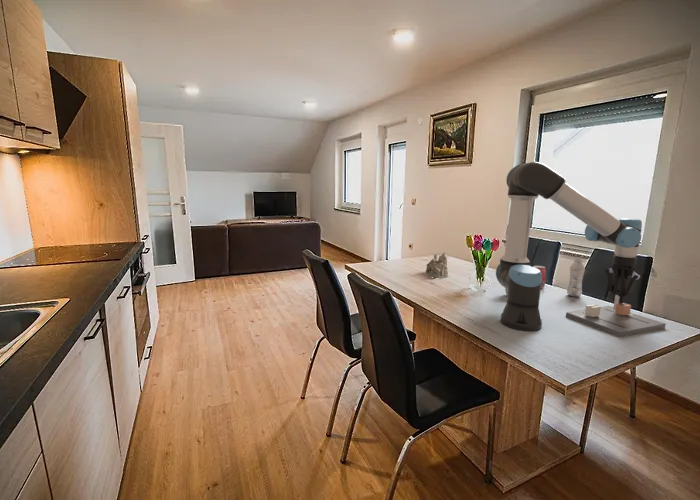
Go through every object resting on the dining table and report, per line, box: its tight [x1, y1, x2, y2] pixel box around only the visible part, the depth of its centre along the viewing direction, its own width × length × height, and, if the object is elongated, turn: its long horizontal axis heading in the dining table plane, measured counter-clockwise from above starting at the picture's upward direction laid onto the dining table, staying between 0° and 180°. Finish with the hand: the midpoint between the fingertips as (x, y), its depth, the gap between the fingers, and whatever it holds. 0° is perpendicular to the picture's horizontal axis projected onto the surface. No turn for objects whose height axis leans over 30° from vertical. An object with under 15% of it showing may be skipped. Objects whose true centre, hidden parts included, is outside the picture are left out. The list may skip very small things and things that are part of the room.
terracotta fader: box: [615, 302, 632, 315], centre depth 145 cm, size 4×3×4 cm
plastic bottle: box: [566, 256, 586, 298], centre depth 175 cm, size 6×7×20 cm
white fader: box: [585, 303, 602, 317], centre depth 143 cm, size 4×3×4 cm
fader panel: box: [565, 305, 666, 338], centre depth 142 cm, size 26×22×2 cm
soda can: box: [533, 265, 547, 290], centre depth 191 cm, size 7×7×12 cm
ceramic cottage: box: [424, 252, 449, 279], centre depth 217 cm, size 16×16×15 cm
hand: (617, 309), depth 147 cm, fingers closed
